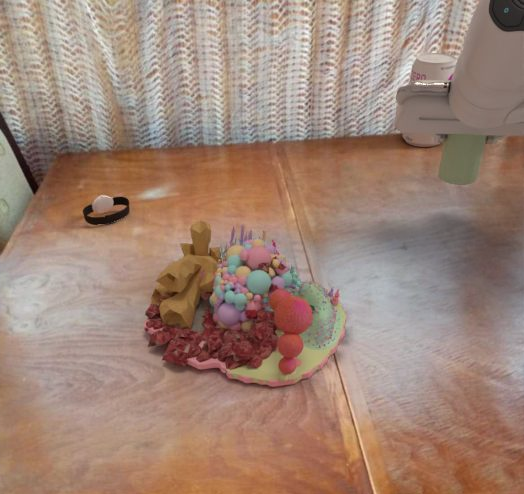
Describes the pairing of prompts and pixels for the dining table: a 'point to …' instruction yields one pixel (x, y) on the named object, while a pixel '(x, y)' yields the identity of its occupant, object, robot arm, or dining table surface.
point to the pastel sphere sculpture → (243, 312)
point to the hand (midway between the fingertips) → (465, 138)
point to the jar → (461, 158)
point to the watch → (105, 209)
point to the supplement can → (430, 69)
